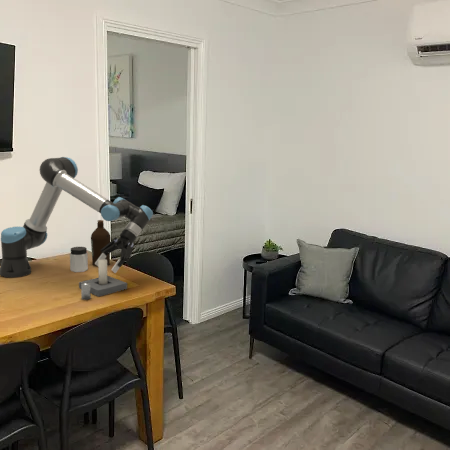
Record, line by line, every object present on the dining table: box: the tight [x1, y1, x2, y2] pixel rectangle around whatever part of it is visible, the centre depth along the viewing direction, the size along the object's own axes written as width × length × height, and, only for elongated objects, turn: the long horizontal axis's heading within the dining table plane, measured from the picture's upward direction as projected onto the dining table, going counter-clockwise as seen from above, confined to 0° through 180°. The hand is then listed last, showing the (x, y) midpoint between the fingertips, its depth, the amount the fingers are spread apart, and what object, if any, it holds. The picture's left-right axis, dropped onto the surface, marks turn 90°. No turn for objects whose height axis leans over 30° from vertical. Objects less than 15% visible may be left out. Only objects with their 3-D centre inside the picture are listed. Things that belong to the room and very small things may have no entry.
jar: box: [69, 246, 89, 273], centre depth 255 cm, size 9×8×12 cm
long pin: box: [97, 259, 108, 285], centre depth 227 cm, size 4×4×14 cm
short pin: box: [80, 282, 92, 301], centre depth 214 cm, size 4×4×7 cm
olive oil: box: [90, 219, 112, 267], centre depth 266 cm, size 11×11×25 cm
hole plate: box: [78, 275, 128, 298], centre depth 228 cm, size 16×16×3 cm
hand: (104, 268), depth 226 cm, fingers open, 13 cm apart
